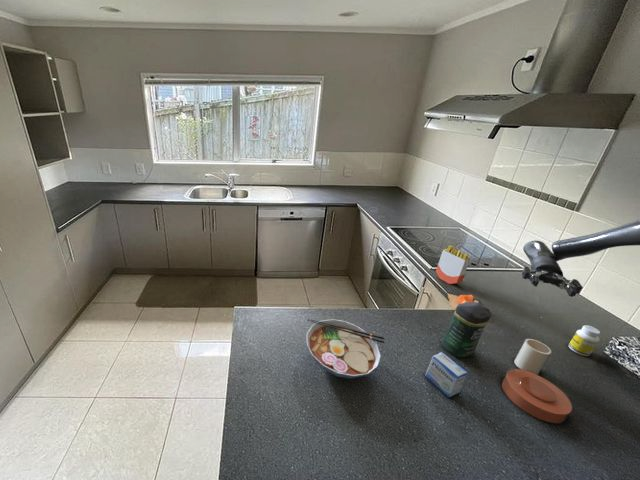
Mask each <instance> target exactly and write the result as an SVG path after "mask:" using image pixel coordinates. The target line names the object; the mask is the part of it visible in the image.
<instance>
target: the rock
mask: <svg viewBox="0 0 640 480" xmlns="http://www.w3.org/2000/svg"><path fill="white" fill-rule="evenodd" d="M447 298H448V301H449V305H450V309H452V310H455V309H456V307H457V306H458V304H461V303H466V302H478V303H480V302H479V301H478V300H475V298H474V296H473V295H472V294H460V295H456V294H452V293H448V292H447Z"/></svg>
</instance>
